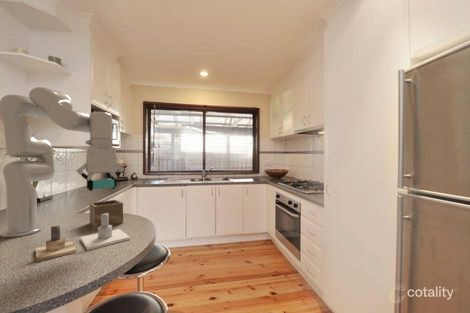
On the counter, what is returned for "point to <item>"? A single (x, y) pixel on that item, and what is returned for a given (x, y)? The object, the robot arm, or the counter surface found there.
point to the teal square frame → (102, 183)
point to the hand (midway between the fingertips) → (102, 189)
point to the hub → (104, 235)
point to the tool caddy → (110, 207)
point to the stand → (55, 246)
